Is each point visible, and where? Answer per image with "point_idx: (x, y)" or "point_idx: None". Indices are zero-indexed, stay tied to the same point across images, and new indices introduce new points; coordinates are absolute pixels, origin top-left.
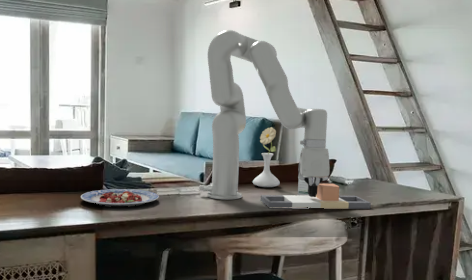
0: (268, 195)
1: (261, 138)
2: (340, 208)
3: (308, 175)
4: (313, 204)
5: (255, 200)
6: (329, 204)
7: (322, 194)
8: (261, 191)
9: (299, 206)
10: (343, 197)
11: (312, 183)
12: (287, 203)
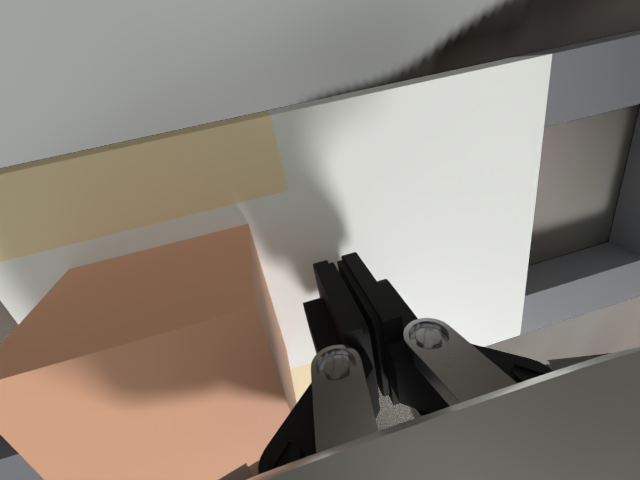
0: (609, 298)
1: None
2: (59, 156)
3: (627, 376)
4: (342, 98)
5: None
6: (172, 136)
7: (250, 250)
8: None
9: (462, 69)
10: None
11: (409, 347)
12: (585, 45)
